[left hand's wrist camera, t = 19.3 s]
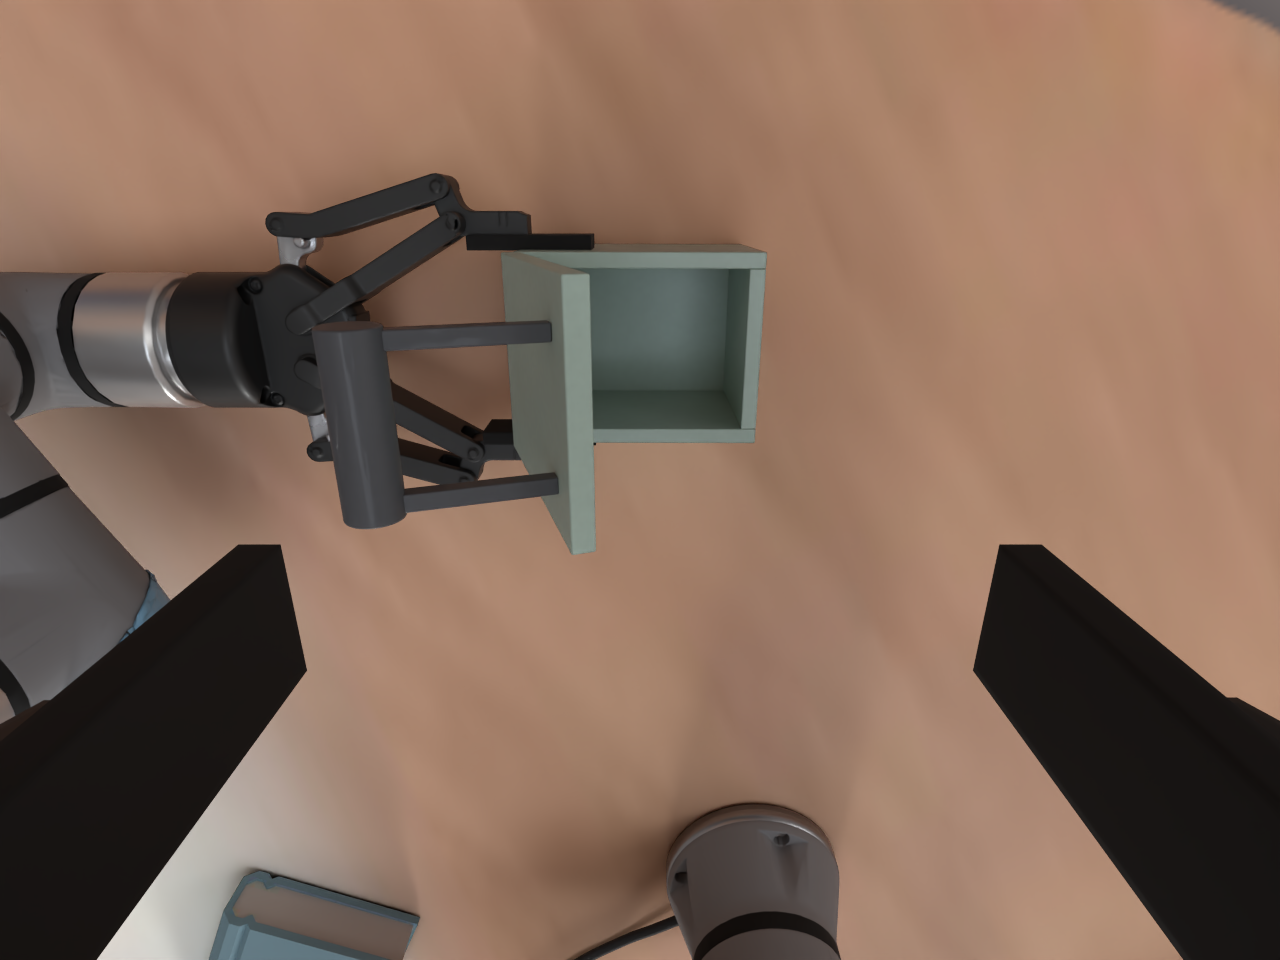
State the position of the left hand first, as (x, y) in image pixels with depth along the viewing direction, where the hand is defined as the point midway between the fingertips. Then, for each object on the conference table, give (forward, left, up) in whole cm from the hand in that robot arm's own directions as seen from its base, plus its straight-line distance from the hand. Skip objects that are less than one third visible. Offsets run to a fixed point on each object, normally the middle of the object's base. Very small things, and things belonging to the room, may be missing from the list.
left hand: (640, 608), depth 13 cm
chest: (0, 0, -35) cm, 35 cm away
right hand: (-2, +1, -28) cm, 28 cm away
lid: (-3, +2, -18) cm, 19 cm away
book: (-58, -40, -35) cm, 78 cm away
